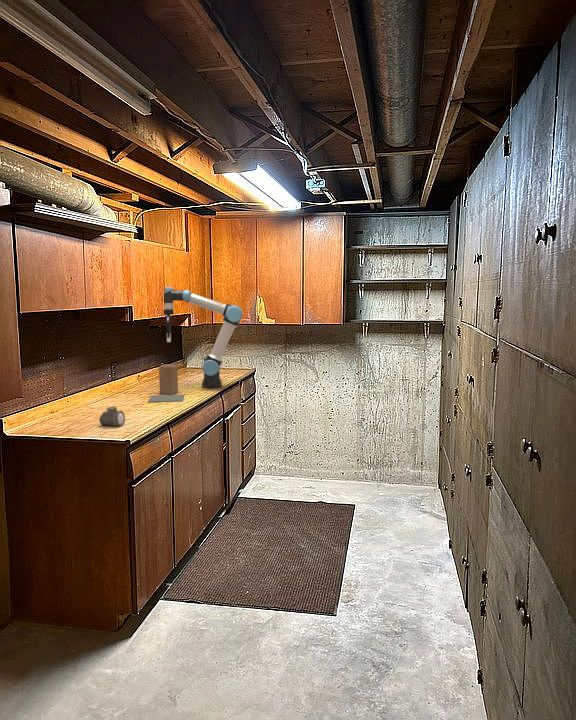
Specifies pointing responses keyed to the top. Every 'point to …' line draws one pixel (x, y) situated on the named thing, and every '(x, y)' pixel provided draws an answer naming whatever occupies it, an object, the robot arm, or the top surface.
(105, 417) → the pipe fitting
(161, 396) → the mat
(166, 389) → the block
